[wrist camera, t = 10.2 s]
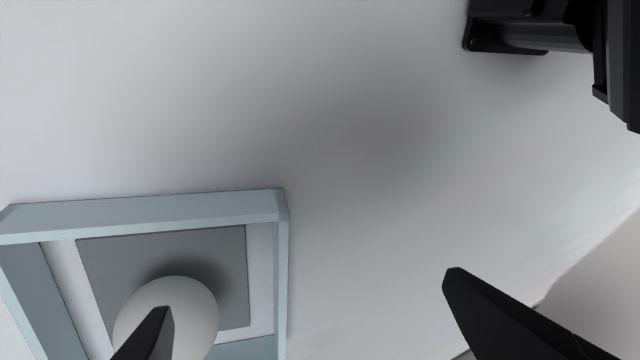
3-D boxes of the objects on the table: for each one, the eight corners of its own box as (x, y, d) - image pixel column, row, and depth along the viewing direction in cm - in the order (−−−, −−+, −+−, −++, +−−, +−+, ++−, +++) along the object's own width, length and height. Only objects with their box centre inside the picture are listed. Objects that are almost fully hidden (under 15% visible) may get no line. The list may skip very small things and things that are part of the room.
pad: (244, 223, 21) (244, 225, 21) (249, 323, 26) (249, 326, 26) (76, 237, 19) (74, 240, 19) (114, 345, 23) (113, 348, 23)
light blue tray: (282, 188, 21) (288, 211, 18) (280, 338, 28) (285, 370, 25) (8, 204, 17) (-31, 237, 15) (84, 373, 24) (66, 416, 21)
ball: (216, 251, 22) (213, 323, 16) (222, 311, 24) (222, 390, 19) (118, 262, 20) (82, 347, 15) (137, 326, 23) (111, 416, 17)
